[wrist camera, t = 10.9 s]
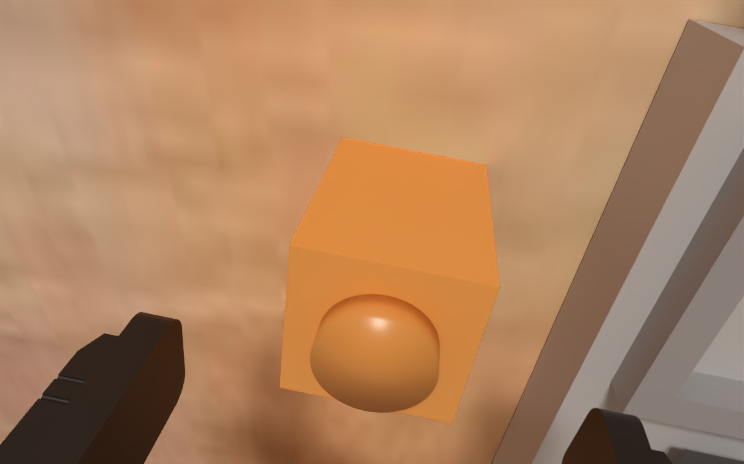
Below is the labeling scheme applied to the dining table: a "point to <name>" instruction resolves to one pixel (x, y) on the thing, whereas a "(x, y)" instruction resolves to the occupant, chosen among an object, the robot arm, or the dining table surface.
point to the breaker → (705, 459)
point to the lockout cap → (390, 281)
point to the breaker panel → (658, 279)
